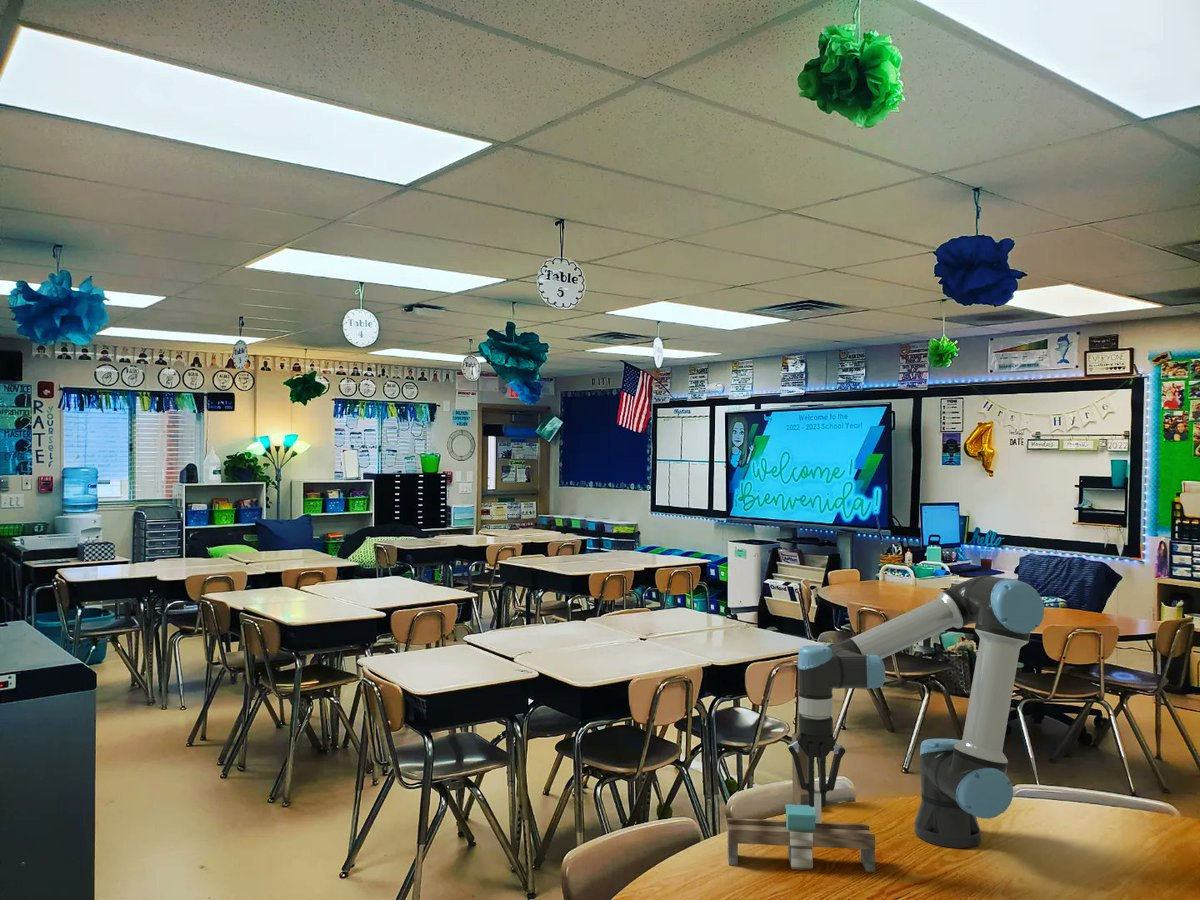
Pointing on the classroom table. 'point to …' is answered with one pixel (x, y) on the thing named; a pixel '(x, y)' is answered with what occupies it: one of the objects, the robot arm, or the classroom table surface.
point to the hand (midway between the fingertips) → (817, 821)
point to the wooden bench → (801, 839)
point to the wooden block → (798, 793)
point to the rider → (800, 818)
